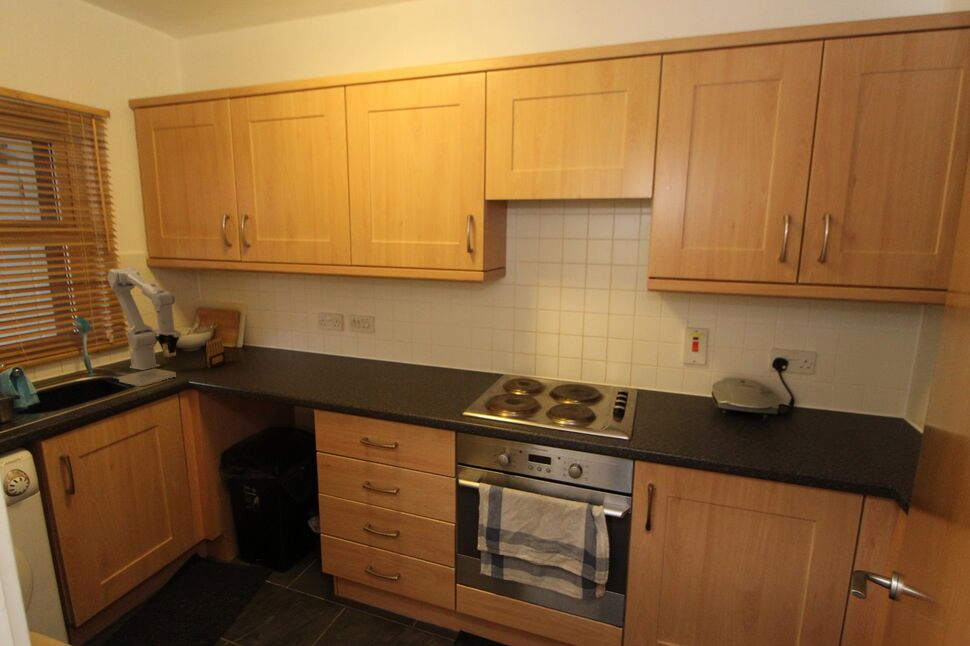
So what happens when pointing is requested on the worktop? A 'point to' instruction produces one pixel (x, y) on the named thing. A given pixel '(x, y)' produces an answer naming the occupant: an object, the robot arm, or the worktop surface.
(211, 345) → the ammunition clip
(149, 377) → the plate with square hole
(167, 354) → the wooden block
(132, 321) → the robot arm
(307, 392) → the worktop surface
